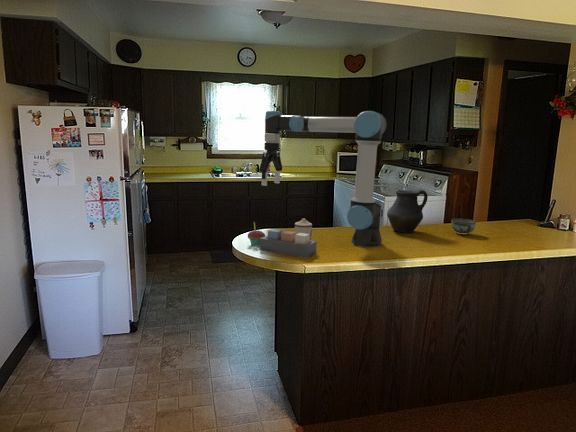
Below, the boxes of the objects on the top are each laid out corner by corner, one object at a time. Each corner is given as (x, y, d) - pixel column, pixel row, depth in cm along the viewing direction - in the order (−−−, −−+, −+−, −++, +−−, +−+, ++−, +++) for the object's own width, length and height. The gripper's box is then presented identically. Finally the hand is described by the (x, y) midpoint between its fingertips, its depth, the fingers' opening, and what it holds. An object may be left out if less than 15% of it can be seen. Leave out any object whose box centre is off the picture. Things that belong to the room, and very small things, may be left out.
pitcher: (384, 226, 267) (387, 185, 263) (421, 228, 264) (425, 187, 260) (387, 233, 247) (390, 189, 242) (426, 236, 244) (431, 192, 240)
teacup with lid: (313, 243, 219) (314, 220, 217) (295, 243, 217) (296, 220, 215) (308, 237, 231) (309, 215, 229) (291, 237, 229) (292, 215, 227)
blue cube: (281, 240, 206) (282, 230, 205) (277, 242, 201) (277, 232, 200) (272, 239, 208) (272, 228, 207) (267, 241, 203) (267, 230, 202)
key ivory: (309, 244, 200) (309, 234, 199) (305, 247, 195) (305, 236, 195) (299, 243, 202) (299, 232, 201) (294, 245, 198) (295, 234, 197)
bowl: (453, 230, 264) (455, 217, 262) (477, 234, 256) (478, 220, 255) (447, 234, 253) (448, 220, 251) (471, 237, 245) (473, 223, 244)
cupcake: (258, 248, 206) (258, 223, 204) (243, 245, 210) (244, 220, 208) (268, 244, 213) (269, 220, 211) (254, 241, 218) (254, 218, 215)
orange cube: (295, 242, 203) (295, 232, 202) (290, 244, 198) (291, 234, 197) (285, 241, 205) (286, 230, 204) (280, 243, 200) (281, 232, 200)
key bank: (316, 252, 202) (316, 241, 201) (307, 258, 193) (308, 245, 192) (270, 245, 212) (270, 234, 211) (259, 249, 203) (260, 238, 202)
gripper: (277, 142, 234) (275, 181, 238) (252, 142, 212) (251, 185, 216) (289, 142, 230) (288, 182, 234) (266, 142, 208) (265, 187, 212)
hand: (270, 184), depth 225 cm, fingers open, 13 cm apart
